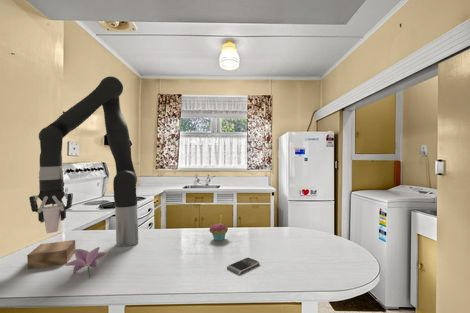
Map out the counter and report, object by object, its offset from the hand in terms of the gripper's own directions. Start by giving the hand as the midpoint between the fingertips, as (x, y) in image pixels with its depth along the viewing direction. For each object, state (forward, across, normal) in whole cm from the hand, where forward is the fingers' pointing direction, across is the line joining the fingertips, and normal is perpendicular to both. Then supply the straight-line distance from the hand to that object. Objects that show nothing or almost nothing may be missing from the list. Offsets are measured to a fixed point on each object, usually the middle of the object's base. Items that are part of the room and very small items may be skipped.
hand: (52, 220), depth 96 cm
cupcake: (+15, -66, +4) cm, 68 cm away
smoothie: (+4, 0, 0) cm, 4 cm away
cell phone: (+15, -66, +35) cm, 76 cm away
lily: (+15, -16, +19) cm, 29 cm away
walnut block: (+15, 0, 0) cm, 15 cm away
